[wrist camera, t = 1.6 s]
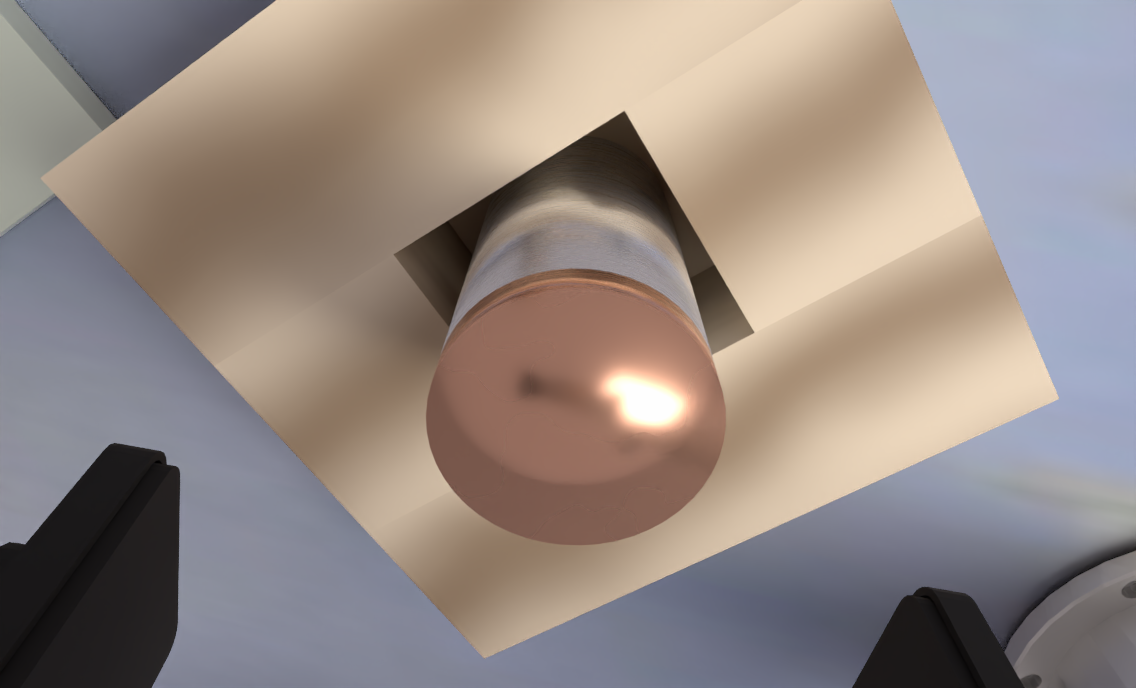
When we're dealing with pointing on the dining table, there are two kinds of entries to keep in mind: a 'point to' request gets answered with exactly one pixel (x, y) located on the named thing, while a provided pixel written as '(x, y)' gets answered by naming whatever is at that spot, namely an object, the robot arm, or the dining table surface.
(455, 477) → the copper topped silver cylinder
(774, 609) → the dining table surface
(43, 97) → the pad
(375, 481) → the housing
